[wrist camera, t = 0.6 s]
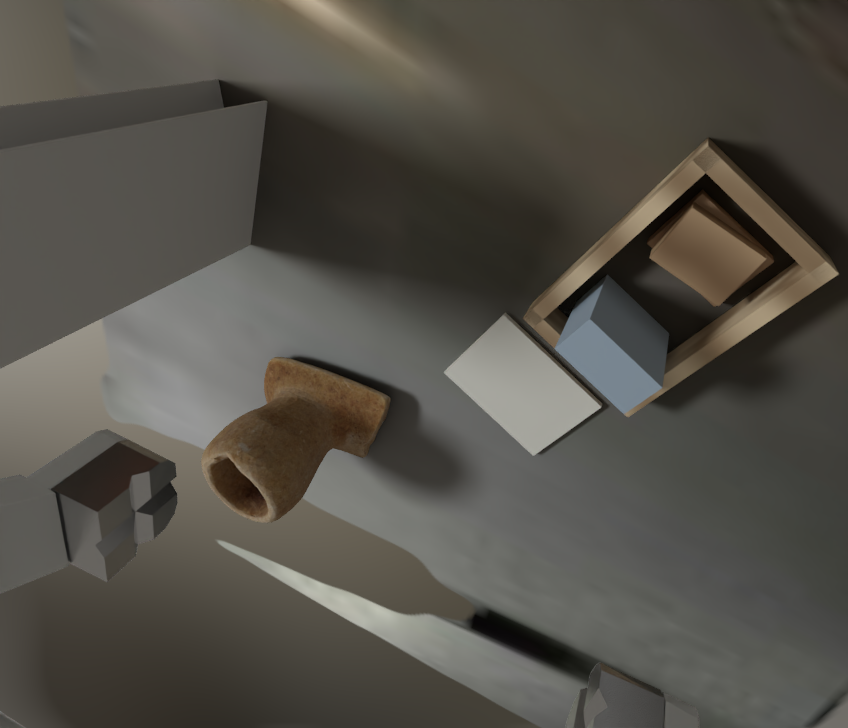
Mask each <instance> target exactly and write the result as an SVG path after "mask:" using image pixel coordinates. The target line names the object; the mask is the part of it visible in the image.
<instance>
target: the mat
mask: <svg viewBox="0 0 848 728" xmlns="http://www.w3.org/2000/svg"><path fill="white" fill-rule="evenodd" d="M444 373H445V374H446V375H447V376H448V377H449V378H450V379H451V380H452V381H453V382H454V383H456V384H457V385H458V386H459V387H460V388H461V389H462V390H463V391H464V392H465V393H466V394H467V395H468V396H470V397H471V398H472V399H473V400H474V401H475V402H476V403H477V404H478V405H479V406H480V407H481V408H482V409H483V410H485V411H486V412H487V413H488V414H489V415H490V416H491V417H492V418H493V419H494V420H495V421H496V422H497V423H499V424H500V425H501V426H502V427H503V428H504V429H505V430H506V431H507V432H508V433H509V434H510V435H511V436H513V437H514V438H515V439H516V440H517V441H518V442H519V443H520V444H521V445H522V446H523V447H524V448H525V449H527V450H528V451H529V452H530V453H531V454H532V455H533V456H534V455H536V454H537V453H538V452H540V451H541V450H543V449H544V448H545V447H547V446H548V445H550V444H551V443H552V442H554V441H555V440H557V439H558V438H559V437H561V436H562V435H563V434H565V433H566V432H568V431H569V430H570V429H572V428H573V427H575V426H576V425H577V424H579V423H580V422H582V421H583V420H584V419H586V418H587V417H589V416H590V415H591V414H593V413H594V412H596V411H597V410H598V409H600V408H601V407H602V403H601V402H600V401H599V400H598V399H597V398H596V397H595V396H594V395H593V394H592V393H591V392H590V391H589V390H587V389H586V388H585V387H584V386H583V385H582V384H581V383H580V382H579V381H578V380H577V379H576V378H575V377H574V376H573V375H572V374H570V373H569V372H568V371H567V370H566V369H565V368H564V367H563V366H562V365H561V364H560V363H559V362H558V361H557V360H556V359H555V358H553V357H552V356H551V355H550V354H549V353H548V352H547V351H546V350H545V349H544V348H543V347H542V346H541V345H540V344H539V343H538V342H537V341H535V340H534V339H533V338H532V337H531V336H530V335H529V334H528V333H527V332H526V331H525V330H524V329H523V328H522V327H521V326H520V325H518V324H517V323H516V322H515V321H514V320H513V319H512V318H511V317H510V316H509V315H508V314H507V313H506V312H505V313H504V314H503V315H502V316H501V317H500V318H499V319H498V320H497V321H496V322H495V323H494V324H493V325H492V326H491V327H490V328H489V329H488V330H487V331H486V332H485V333H484V334H483V335H481V336H480V337H479V338H478V339H477V340H476V341H475V342H474V343H473V344H472V345H471V346H470V347H469V348H468V349H467V350H466V351H465V352H464V353H463V354H462V355H461V356H460V357H459V358H458V359H457V360H456V361H454V362H453V363H452V364H451V365H450V366H449V367H448V368H447V369H446V370H445V372H444Z"/></svg>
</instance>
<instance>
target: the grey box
mask: <svg viewBox="0 0 848 728" xmlns="http://www.w3.org/2000/svg"><path fill="white" fill-rule="evenodd" d="M267 103H268V101H265V100H264V101H258V102H253V103H248V104H242V105H237V106H232V107H226V108H224V105H223V100H222V95H221V90H220V85H219V80H216V79H215V80H207V81H199V82H191V83H183V84H175V85H167V86H159V87H151V88H143V89H135V90H127V91H119V92H112V93H104V94H96V95H88V96H80V97H72V98H64V99H56V100H48V101H40V102H33V103H25V104H16V105H9V106H0V368H2V367H4V366H6V365H8V364H10V363H12V362H14V361H16V360H18V359H21V358H22V357H25V356H27V355H29V354H31V353H33V352H35V351H37V350H39V349H41V348H43V347H45V346H47V345H49V344H51V343H53V342H55V341H57V340H59V339H61V338H63V337H65V336H67V335H69V334H71V333H73V332H75V331H77V330H79V329H81V328H83V327H85V326H87V325H89V324H91V323H93V322H95V321H97V320H99V319H101V318H103V317H105V316H107V315H109V314H111V313H113V312H115V311H118V310H120V309H122V308H124V307H126V306H128V305H130V304H132V303H134V302H136V301H138V300H140V299H142V298H144V297H146V296H148V295H150V294H152V293H154V292H156V291H158V290H160V289H162V288H164V287H166V286H168V285H170V284H172V283H174V282H176V281H178V280H180V279H182V278H184V277H186V276H188V275H190V274H192V273H194V272H196V271H198V270H200V269H202V268H204V267H206V266H208V265H210V264H212V263H214V262H216V261H218V260H221V259H223V258H225V257H227V256H229V255H231V254H233V253H235V252H237V251H239V250H241V249H243V248H245V247H247V246H249V245H251V237H252V229H253V220H254V212H255V203H256V195H257V187H258V178H259V170H260V162H261V153H262V145H263V136H264V128H265V120H266V111H267Z"/></svg>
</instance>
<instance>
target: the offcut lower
mask: <svg viewBox="0 0 848 728" xmlns="http://www.w3.org/2000/svg"><path fill="white" fill-rule="evenodd" d="M693 201H694V202H695V203H697V204H698V205H700V206H701V207H703V208H704V209H705V210H707V211H708V212H710V213H711V214H713V215H714V216H716V217H717V218H719V219H720V220H721V221H723V222H724V223H726V224H727V225H729V226H730V227H732V228H733V229H734V230H736V231H737V232H739V233H740V234H742V235H743V236H745V237H746V238H748V239H749V240H750V241H752V242H753V243H755V244H756V245H758V246H759V247H761V248H762V249H764V251H765V255H766V260H765V261H764V262H763V263H762V264H761V265H760V266H759V267H758V268H757V269H756V270H755V271H754V272H753V273H752V274H751V275H750V276H749V277H748V278H747V279H746V280H745V281H744V282H743V283H742V284H741V285H740V286H739V287H738V288H737V289H736V290H738V289H739V288H740V287H742V286H743V285H744V284H746V283H747V282H748V281H750V280H751V279H752V278H754V277H755V276H756V275H757V274H759V273H760V272H761V271H763V270H764V269H765V268H767V267H768V266H769V265H771V264H772V263H773V262H774V259H773V255H772V254H770V253H769V252H768V251H767V250H766V249H765V248H764V247H763V246H762V245H761V244H760V243H759V242H758V241H757V240H756V239H755V238H754V237H753V236H752V235H750V234H749V233H748V232H747V231H746V230H745V229H744V228H743V227H742V226H741V225H740V224H739V223H738V222H737V221H736V220H735V219H734V218H733V217H731V216H730V215H729V214H728V213H727V212H726V211H725V210H724V209H723V208H722V207H721V206H720V205H719V204H718V203H717V202H716V201H715V200H714V199H712V198H711V197H710V196H709V195H708V194H707V193H706V192H705V191H704V190H703V189H702V190H701V191H700V192H699V193H698V194H697V195H696V196H695V197H693V198H692V199H691V200H690V201H689V202H688V203H687V204H686V205H685V206H683V207H682V208H681V209H680V210H679V211H678V212H677V213H676V214H675V215H674V216H672V217H671V218H670V219H669V220H668V221H667V222H666V223H665V224H664V225H662V226H661V227H660V228H659V229H658V230H657V231H656V232H655V233H654V234H652V235H651V236H650V237H649V238H648V242H647V244H648V245H649V246H650V247H651V248H652V249H653V248H654V246H655V245H656V244H657V243H658V242H659V241H660V239H661V238H662V237H663V236H664V235H665V234H666V232H667V231H668V230H669V229H670V228H671V227H672V225H673V224H674V223H675V222H676V221H677V220H678V218H679V217H680V216H681V215H682V214H683V213H684V211H685V210H686V209H687V208H688V207H689V206H690V204H691V203H692V202H693ZM736 290H735V291H736ZM735 291H734V292H735ZM734 292H733V293H734ZM701 295H702V294H701ZM702 296H703V295H702ZM703 297H704V296H703ZM704 298H705V299H706V300H707V301H709V302H710V303H711V304H712V305H713V306H714V307H715V306H716V304H714V303H713V302H712V301H710V300H709V299H707V298H706V297H704Z"/></svg>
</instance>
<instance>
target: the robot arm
mask: <svg viewBox="0 0 848 728" xmlns="http://www.w3.org/2000/svg"><path fill="white" fill-rule="evenodd" d="M175 477H176V466H175V463H173V462H172V461H170V460H168V459H166V458H164V457H162V456H160V455H158V454H156V453H154V452H152V451H150V450H148V449H146V448H144V447H142V446H140V445H138V444H136V443H134V442H132V441H130V440H128V439H126V438H124V437H122V436H120V435H118V434H116V433H114V432H112V431H110V430H108V429H106V430H101V431H97V432H95V433H94V434H92V435H91V436H89V437H87V438H86V439H84V440H83V441H81V442H80V443H78V444H77V445H75V446H74V447H72V448H71V449H69V450H68V451H66V452H65V453H63V454H62V455H60V456H59V457H57V458H55V459H54V460H52V461H51V462H49V463H48V464H46V465H45V466H43V467H42V468H40V469H39V470H37V471H36V472H34V473H33V474H31V475H30V476H28V477H24V476H22V475H16V476H11V477H7V478H2V479H0V594H1V593H3V592H6V591H8V590H11V589H13V588H15V587H18V586H21V585H23V584H25V583H28V582H30V581H33V580H35V579H38V578H40V577H42V576H45V575H48V574H50V573H53V572H55V571H57V570H60V569H62V568H65V567H67V566H69V563H70V564H72V565H74V566H76V567H78V568H80V569H82V570H84V571H86V572H88V573H90V574H92V575H94V576H96V577H98V578H100V579H102V580H104V581H106V582H108V581H109V580H110V579H111V578H112V577H114V576H115V575H116V574H117V573H118V572H119V571H120V570H121V569H122V568H123V567H125V566H126V565H127V563H129V562H130V561H131V560H132V559H133V558H134V557H135V556H136V552H137V546H138V544H140V543H143V542H147V541H150V540H153V539H155V538H156V537H157V536H158V535H159V534H160V533H161V532H162V531H163V530H164V529H165V528H166V526H167V525H168V523H169V522H170V520H171V518H172V517H173V515H174V513H175V509H176V505H177V493H176V491H175V489H174V487H173V486H172V484H171V480H173V479H174V478H175ZM0 728H26V727H24V726H22V725H21V724H19V723H18V722H16V721H14V720H13V719H11V718H10V717H8V716H6V715H5V714H3V713H2V712H0ZM565 728H699V714H698V712H697V709H696V708H695V707H694V706H692V705H690V704H688V703H685V702H683V701H681V700H679V699H677V698H675V697H672V696H670V695H668V694H666V693H664V692H661V690H660V689H657V688H655V687H653V686H651V685H649V684H646V683H644V682H642V681H640V680H638V679H635V678H633V677H631V676H629V675H627V674H624V673H622V672H620V671H618V670H616V669H613V668H611V667H609V666H607V665H605V664H602V663H598V664H597V665H596V666H595V667H594V669H593V670H592V672H591V673H590V677H589V683H588V688H585V689H581V690H580V692H579V693H578V695H577V697H576V699H575V701H574V703H573V706H572V708H571V711H570V713H569V716H568V719H567V723H566V727H565Z"/></svg>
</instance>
